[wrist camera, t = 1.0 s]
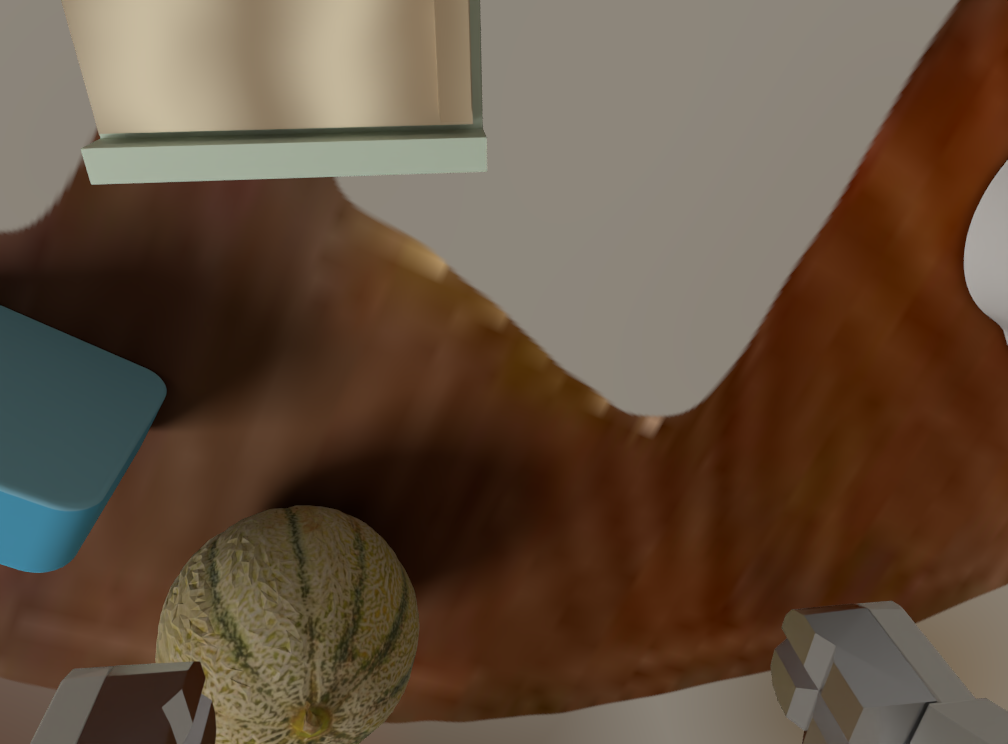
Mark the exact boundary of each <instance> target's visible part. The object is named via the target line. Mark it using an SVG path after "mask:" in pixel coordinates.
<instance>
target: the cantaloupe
mask: <svg viewBox="0 0 1008 744" xmlns="http://www.w3.org/2000/svg"><path fill="white" fill-rule="evenodd" d="M418 634H419V614H418V608H417V601H416V596H415V591H414V588H413V586H412V584H411V582H410V579H409V577H408V575H407V573H406V571H405V569H404V567H403V566H402V564H401V563H400V562H399V561H398V559H397V556H396V554H395V553H394V551H393V550H392V548H391V547H390V546H389V545H388V544H387V542H386V541H385V540H384V539H383V538H382V537H381V536H380V535H379V534H378V533H376V532H375V531H374V530H373V529H372V528H371V527H369V526H368V525H367V524H366V523H364V522H363V521H361V520H359V519H357V518H355V517H352V516H350V515H347V514H344V513H342V512H340V511H339V510H337V509H332V508H327V507H322V506H311V505H296V506H293V507H289V508H278V509H269V510H266V511H263V512H260V513H258V514H255V515H253V516H250V517H247V518H245V519H242V520H240V521H239V522H237V523H236V524H234V525H232V526H231V527H229V528H228V529H227V530H226V531H225V532H223V533H221V534H219V535H217V536H215V537H214V538H212V539H210V540H209V541H208V542H207V543H206V544H205V545H204V546H203V547H202V548H201V549H199V550H198V551H197V552H196V553H195V554H194V555H193V556H192V557H191V559H190V560H189V561H188V562H187V564H186V565H185V566H184V567H183V569H182V570H181V573H180V575H179V576H178V577H177V578H176V580H175V581H174V583H173V584H172V586H171V588H170V591H169V593H168V595H167V598H166V600H165V603H164V605H163V609H162V613H161V615H160V622H159V626H158V637H157V644H156V657H155V661H156V664H157V663H174V662H191V661H200V662H201V665H202V668H203V671H204V674H205V677H206V679H205V683H204V686H203V690H202V694H203V695H205V696H206V697H208V698H209V699H211V700H212V702H213V706H214V710H215V717H216V740H215V744H359V743H360V742H361V741H362V740H364V739H365V738H366V737H367V736H369V735H370V734H371V733H372V732H373V731H374V730H375V729H376V728H377V727H379V726H380V725H381V724H383V723H384V722H385V720H386V719H387V718H388V716H389V715H390V714H391V713H392V712H393V710H394V708H395V706H396V705H397V703H398V702H399V700H400V698H401V696H402V695H403V693H404V692H405V689H406V686H407V683H408V681H409V679H410V673H411V670H412V666H413V662H414V658H415V654H416V650H417V644H418Z"/></svg>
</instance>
